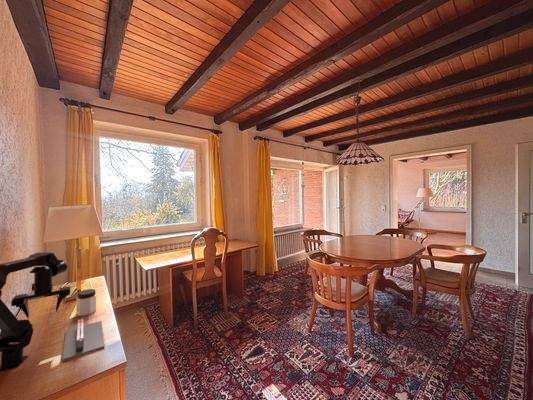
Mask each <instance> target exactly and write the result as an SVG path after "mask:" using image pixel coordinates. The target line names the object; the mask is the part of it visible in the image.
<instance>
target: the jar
mask: <svg viewBox="0 0 533 400" xmlns="http://www.w3.org/2000/svg"><path fill="white" fill-rule="evenodd" d="M76 296H77V297H76V315H78V316H79V317H83V316H89V315H92V314H93V313H94V312H95V311H97V294H96V289H94V288H90V289H89V288H88V289H83V290H80V291H79V292H78V293H77V295H76Z"/></svg>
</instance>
